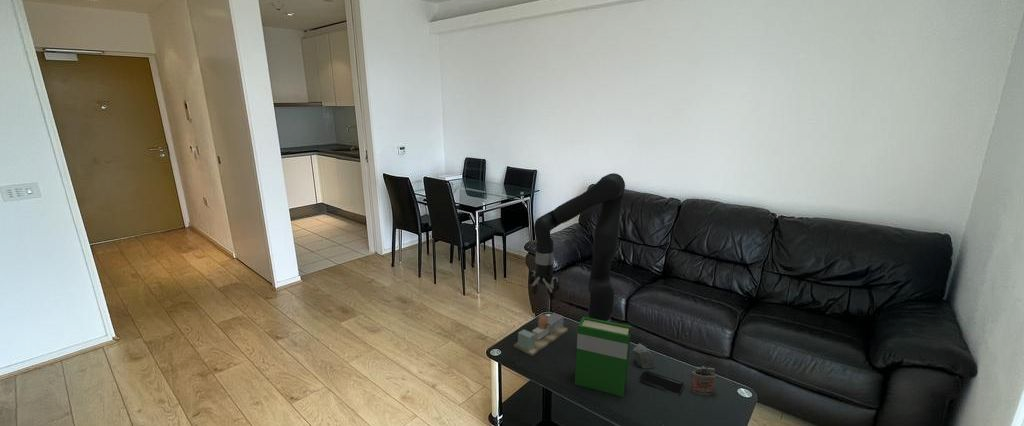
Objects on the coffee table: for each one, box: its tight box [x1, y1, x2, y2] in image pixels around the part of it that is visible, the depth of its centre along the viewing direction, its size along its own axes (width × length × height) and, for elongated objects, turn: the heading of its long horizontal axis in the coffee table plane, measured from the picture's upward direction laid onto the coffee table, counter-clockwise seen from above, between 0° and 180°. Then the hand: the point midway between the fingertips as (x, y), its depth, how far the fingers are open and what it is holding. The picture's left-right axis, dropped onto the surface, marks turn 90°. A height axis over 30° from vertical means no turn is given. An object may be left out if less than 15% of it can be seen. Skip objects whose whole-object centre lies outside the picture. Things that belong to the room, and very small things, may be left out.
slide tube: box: [531, 314, 550, 340], centre depth 189 cm, size 17×4×8 cm, turn 140°
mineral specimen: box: [632, 342, 655, 370], centre depth 168 cm, size 7×9×8 cm
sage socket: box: [517, 329, 535, 351], centre depth 178 cm, size 4×6×6 cm, turn 50°
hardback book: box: [574, 316, 632, 398], centre depth 154 cm, size 18×7×24 cm, turn 67°
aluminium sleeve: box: [547, 312, 565, 336], centre depth 193 cm, size 10×5×5 cm, turn 140°
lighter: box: [689, 365, 717, 396], centre depth 153 cm, size 8×3×10 cm, turn 80°
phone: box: [638, 370, 685, 397], centre depth 158 cm, size 8×1×15 cm
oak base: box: [513, 326, 569, 357], centre depth 187 cm, size 27×10×1 cm, turn 140°
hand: (543, 296), depth 183 cm, fingers open, 8 cm apart
